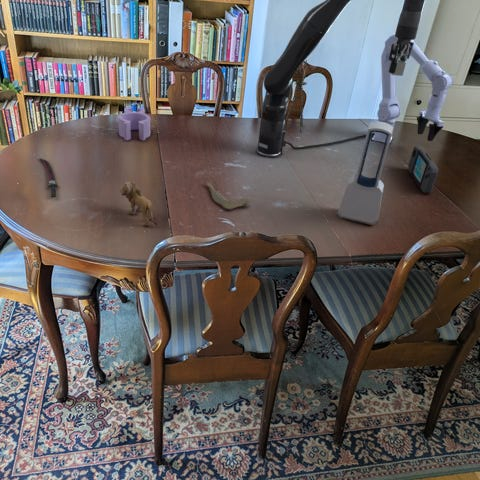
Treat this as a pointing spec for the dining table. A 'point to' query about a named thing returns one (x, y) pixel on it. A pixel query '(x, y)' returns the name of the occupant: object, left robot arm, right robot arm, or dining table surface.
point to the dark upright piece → (298, 100)
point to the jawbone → (223, 201)
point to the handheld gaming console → (423, 169)
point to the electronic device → (366, 184)
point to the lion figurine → (137, 201)
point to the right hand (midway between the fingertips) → (424, 137)
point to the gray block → (399, 68)
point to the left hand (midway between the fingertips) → (395, 71)
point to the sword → (52, 181)
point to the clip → (134, 123)
